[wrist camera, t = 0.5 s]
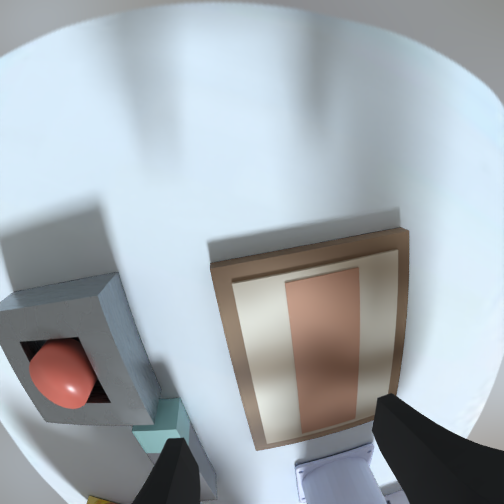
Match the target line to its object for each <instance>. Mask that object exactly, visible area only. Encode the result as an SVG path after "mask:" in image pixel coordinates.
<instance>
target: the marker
mask: <svg viewBox="0 0 504 504" xmlns="http://www.w3.org/2000/svg"><path fill="white" fill-rule="evenodd" d="M132 432H133V434H134V436H135V437H136V439H137V440H138V442H139V443H140V445H141V446H142V448H143V449H144V451H145V452H146V454H147V455H148V457H149V458H150V460H151V461H152V462H153V464H154V465H155V463H156V461H157V459H158V457H159V455H160V453H161V451H162V449H163V447H164V444H165V442H166V440H167V439H168V438H183V437H184V438H185V440H186V442H187V444H188V446H189V448H190V450H191V452H192V454H193V456H194V458H195V460H196V462H197V464H198V466H199V474H200V487H201V491H200V501H205V500H217V486H216V473H215V471H214V469H213V467H212V465H211V463H210V461H209V459H208V457H207V455H206V453H205V451H204V449H203V447H202V445H201V443H200V441H199V439H198V437H197V435H196V433H195V430H194V428H193V426H192V424H191V422H190V420H189V417H188V415H187V413H186V411H185V408H184V406H183V404H182V401H181V399H180V398H172V399H161V400H159V403H158V408H157V414H156V419H155V424H154V425H133V428H132Z"/></svg>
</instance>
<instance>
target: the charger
mask: <svg viewBox="0 0 504 504" xmlns="http://www.w3.org/2000/svg"><path fill="white" fill-rule="evenodd" d="M384 498H385V500H386V502H387V504H409V501H408V499H407V496H406V495H405V493H404V491H403V490H400V491H398V492H395V493H392V494H389V495H387V496H384Z"/></svg>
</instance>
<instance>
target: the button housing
mask: <svg viewBox="0 0 504 504" xmlns="http://www.w3.org/2000/svg"><path fill="white" fill-rule="evenodd" d="M60 338H72V339H74V340H76V341H78V342H79V343H81V344H82V346H83V348H84V350H85V353H86V355H87V357H88V359H89V361H90V363H91V365H92V367H93V369H94V371H95V373H96V375H97V377H98V378H97V380H96V382H95V384H94V387H93V389H92V391H91V393H90V395H89V397H88V400H87V402H86V403H85V405H84V406H82V407H80V408H77V409H69V408H65V407H61V406H59V405H57V404H55V403H53V402H51V401H50V400H49V399H47V398H46V397H45V396H44V395H43V394H42V393H41V392H40V391H39V390H38V389H37V387H36V386H35V384H34V383H33V381H32V379H31V376H30V372H29V364H30V362H31V360H32V359H33V357H34V356H35V355H36V354H37V352H38V351H39V350H40V349H41V347H42V346H43V345H44V344H45V342H46V341H47V340H49V339H60ZM0 345H1V347H2V349H3V351H4V353H5V355H6V357H7V359H8V361H9V363H10V365H11V366H12V368H13V370H14V372H15V374H16V376H17V377H18V379H19V381H20V382H21V384H22V386H23V388H24V389H25V391H26V392H27V394H28V396H29V397H30V399H31V400H32V402H33V403H34V405H35V407H36V408H37V410H38V411H39V413H40V414H41V415H42V417H43V418H44V420H45V421H46V422H50V423H62V424H76V425H103V426H129V425H154V424H155V419H156V414H157V408H158V403H159V398H160V393H161V388H160V386H159V384H158V381H157V379H156V377H155V374H154V372H153V369H152V367H151V365H150V362H149V360H148V357H147V355H146V352H145V350H144V347H143V344H142V342H141V339H140V336H139V334H138V331H137V328H136V325H135V323H134V320H133V317H132V314H131V311H130V308H129V305H128V302H127V299H126V296H125V293H124V290H123V286H122V283H121V280H120V277H119V273H118V272H114V273H109V274H104V275H99V276H94V277H88V278H83V279H78V280H73V281H68V282H63V283H58V284H52V285H47V286H42V287H37V288H32V289H27V290H22V291H17V292H13V293H12V294H10V295H9V296H8V297H6V298H5V299H4V300H2V301H1V302H0Z"/></svg>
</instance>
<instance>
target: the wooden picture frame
mask: <svg viewBox="0 0 504 504" xmlns="http://www.w3.org/2000/svg"><path fill="white" fill-rule="evenodd" d="M210 272H211V276H212V281H213V285H214V290H215V294H216V299H217V303H218V307H219V312H220V316H221V320H222V324H223V328H224V333H225V337H226V341H227V345H228V349H229V353H230V357H231V361H232V365H233V369H234V373H235V377H236V380H237V384H238V388H239V392H240V395H241V399H242V403H243V407H244V410H245V414H246V417H247V421H248V425H249V428H250V432H251V435H252V439H253V442H254V446H255V449H256V451H259V450H264V449H270V448H275V447H280V446H285V445H289V444H294V443H298V442H302V441H306V440H310V439H314V438H318V437H322V436H325V435H329V434H332V433H336V432H339V431H342V430H346V429H349V428H352V427H355V426H358V425H361V424H364V423H367V422H370V421H372V420H374V416H375V410H376V403H377V398H379V397H381V396H384V395H387V394H390V393H392V394H394V395H395V396H396V394H397V388H398V382H399V376H400V370H401V363H402V355H403V347H404V339H405V329H406V318H407V304H408V286H409V230H406V229H404V228H401V227H399V228H394V229H389V230H384V231H378V232H373V233H368V234H363V235H357V236H352V237H347V238H342V239H336V240H331V241H326V242H320V243H315V244H310V245H305V246H299V247H294V248H289V249H283V250H278V251H273V252H267V253H262V254H257V255H251V256H246V257H241V258H235V259H230V260H224V261H219V262H214V263H210Z"/></svg>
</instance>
